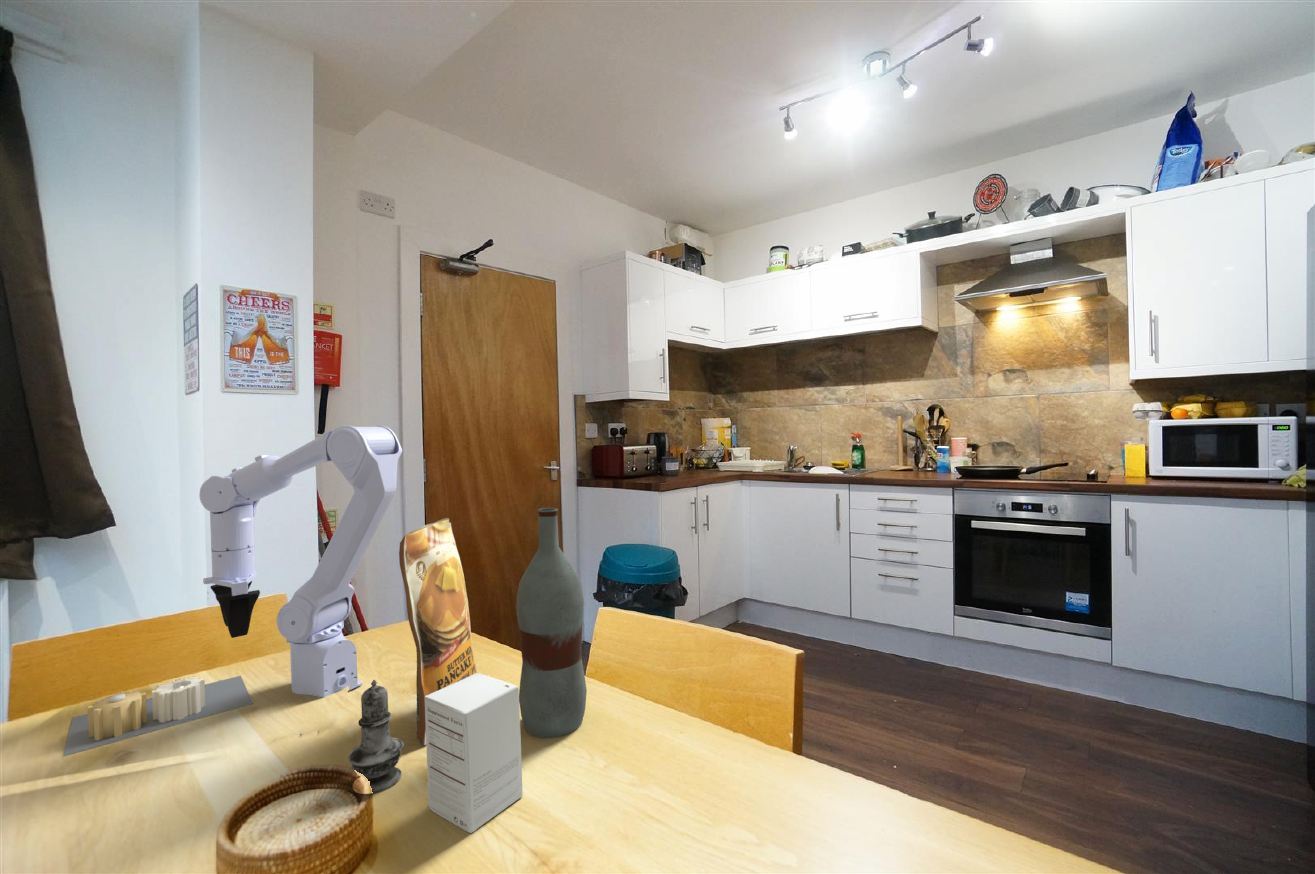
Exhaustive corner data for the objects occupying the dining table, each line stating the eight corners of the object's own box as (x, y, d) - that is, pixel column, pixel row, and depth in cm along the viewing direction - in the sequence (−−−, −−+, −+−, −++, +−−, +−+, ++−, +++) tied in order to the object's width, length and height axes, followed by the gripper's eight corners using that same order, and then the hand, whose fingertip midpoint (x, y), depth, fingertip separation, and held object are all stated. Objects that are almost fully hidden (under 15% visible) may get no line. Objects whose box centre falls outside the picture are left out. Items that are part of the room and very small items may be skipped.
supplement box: (482, 775, 69) (478, 670, 69) (524, 797, 64) (521, 684, 64) (425, 810, 63) (422, 694, 62) (469, 836, 58) (465, 712, 58)
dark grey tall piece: (413, 766, 71) (410, 669, 71) (386, 797, 65) (383, 691, 65) (368, 765, 72) (365, 669, 71) (337, 795, 66) (334, 690, 66)
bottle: (518, 744, 75) (511, 515, 75) (520, 711, 84) (514, 506, 84) (590, 735, 77) (583, 511, 77) (585, 703, 86) (579, 503, 86)
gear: (195, 717, 83) (194, 689, 83) (145, 725, 81) (144, 696, 81) (210, 700, 88) (209, 674, 88) (165, 707, 87) (164, 680, 86)
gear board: (240, 681, 97) (239, 649, 97) (253, 709, 87) (251, 673, 87) (72, 724, 84) (71, 686, 84) (63, 763, 74) (61, 721, 74)
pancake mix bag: (386, 751, 74) (379, 535, 74) (452, 686, 93) (447, 513, 93) (436, 753, 74) (429, 535, 73) (493, 686, 93) (487, 513, 92)
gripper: (198, 546, 98) (201, 625, 98) (206, 558, 87) (209, 648, 87) (249, 539, 102) (252, 616, 103) (262, 551, 92) (265, 636, 92)
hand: (236, 630), depth 95 cm, fingers open, 7 cm apart
